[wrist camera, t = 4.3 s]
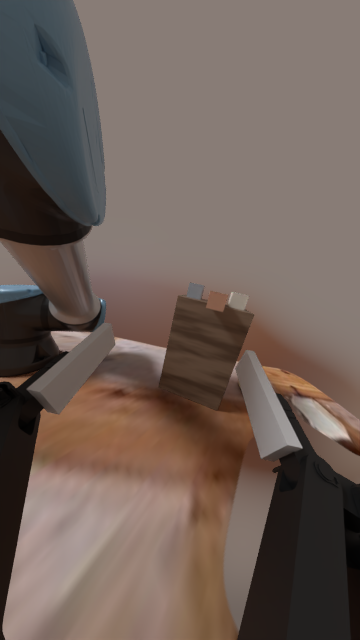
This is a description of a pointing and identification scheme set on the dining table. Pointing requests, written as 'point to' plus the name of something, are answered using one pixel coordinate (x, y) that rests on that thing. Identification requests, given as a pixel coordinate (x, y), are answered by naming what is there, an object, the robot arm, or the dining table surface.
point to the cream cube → (237, 301)
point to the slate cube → (195, 291)
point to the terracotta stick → (216, 301)
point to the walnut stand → (203, 350)
